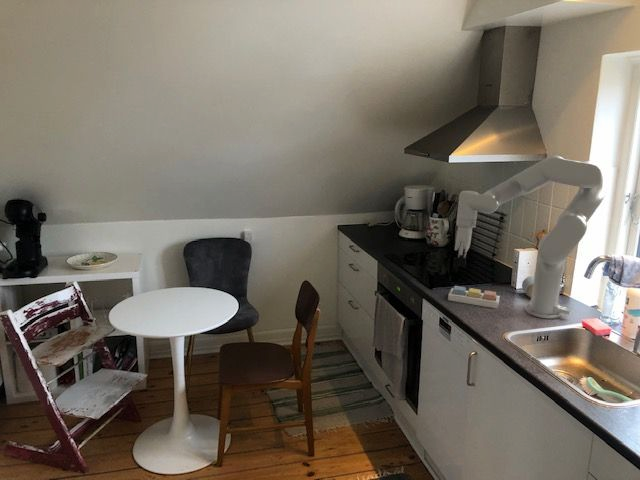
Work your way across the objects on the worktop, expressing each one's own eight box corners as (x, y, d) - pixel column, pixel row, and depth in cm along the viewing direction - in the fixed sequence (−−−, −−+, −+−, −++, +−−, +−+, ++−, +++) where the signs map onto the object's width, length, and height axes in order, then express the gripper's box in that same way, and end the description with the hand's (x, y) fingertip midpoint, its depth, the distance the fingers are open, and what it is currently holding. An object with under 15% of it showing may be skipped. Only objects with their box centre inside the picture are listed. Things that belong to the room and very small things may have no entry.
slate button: (465, 294, 210) (465, 287, 209) (463, 297, 206) (464, 290, 205) (454, 292, 212) (455, 285, 211) (452, 295, 208) (453, 288, 207)
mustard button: (480, 296, 208) (480, 289, 207) (478, 300, 204) (479, 293, 203) (469, 294, 209) (469, 288, 209) (467, 298, 206) (468, 291, 205)
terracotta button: (495, 299, 205) (496, 292, 205) (494, 302, 202) (495, 295, 201) (484, 297, 207) (485, 290, 206) (482, 300, 203) (483, 293, 202)
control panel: (499, 301, 207) (499, 296, 206) (497, 308, 200) (498, 302, 199) (451, 293, 214) (451, 288, 214) (447, 300, 207) (448, 294, 206)
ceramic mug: (525, 299, 210) (528, 281, 208) (520, 292, 218) (523, 275, 216) (552, 301, 209) (555, 284, 207) (546, 294, 217) (549, 277, 215)
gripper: (459, 217, 209) (454, 260, 214) (453, 224, 196) (448, 269, 201) (478, 219, 206) (473, 262, 211) (473, 227, 193) (467, 273, 198)
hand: (461, 266), depth 206 cm, fingers closed
